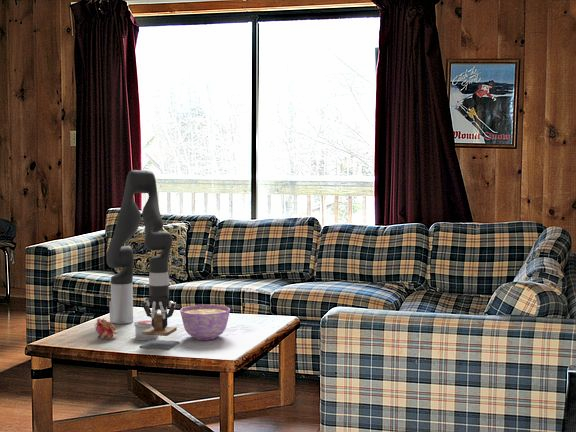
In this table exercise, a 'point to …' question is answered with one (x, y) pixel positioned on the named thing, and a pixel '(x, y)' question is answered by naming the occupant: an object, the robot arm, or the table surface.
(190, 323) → the bowl of food
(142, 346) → the mat
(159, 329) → the lid
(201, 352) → the table surface
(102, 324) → the flower
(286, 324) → the table surface
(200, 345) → the table surface
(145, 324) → the jam crock
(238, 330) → the table surface
